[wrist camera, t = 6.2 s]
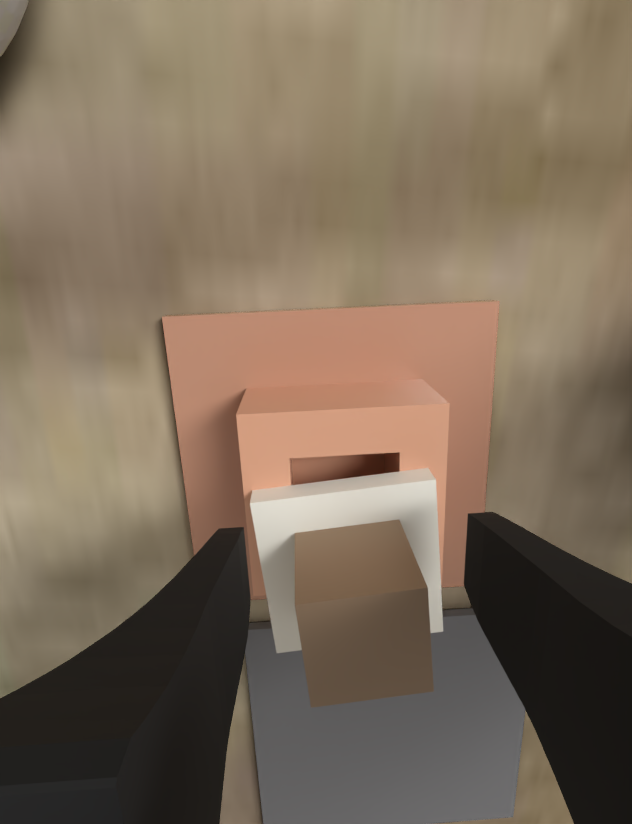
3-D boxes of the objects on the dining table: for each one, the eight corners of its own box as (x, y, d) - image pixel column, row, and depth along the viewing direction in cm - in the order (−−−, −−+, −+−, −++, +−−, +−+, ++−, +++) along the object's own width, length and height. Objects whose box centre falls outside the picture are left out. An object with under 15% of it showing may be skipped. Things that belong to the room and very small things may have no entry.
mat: (532, 604, 20) (536, 610, 19) (509, 808, 23) (512, 817, 23) (243, 623, 19) (242, 630, 19) (265, 827, 23) (264, 837, 23)
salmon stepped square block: (493, 300, 16) (545, 308, 13) (474, 577, 19) (512, 642, 16) (165, 315, 16) (131, 328, 12) (202, 594, 19) (183, 664, 16)
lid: (428, 467, 14) (475, 538, 10) (436, 613, 15) (479, 720, 12) (252, 490, 14) (237, 569, 10) (277, 634, 15) (272, 747, 12)
